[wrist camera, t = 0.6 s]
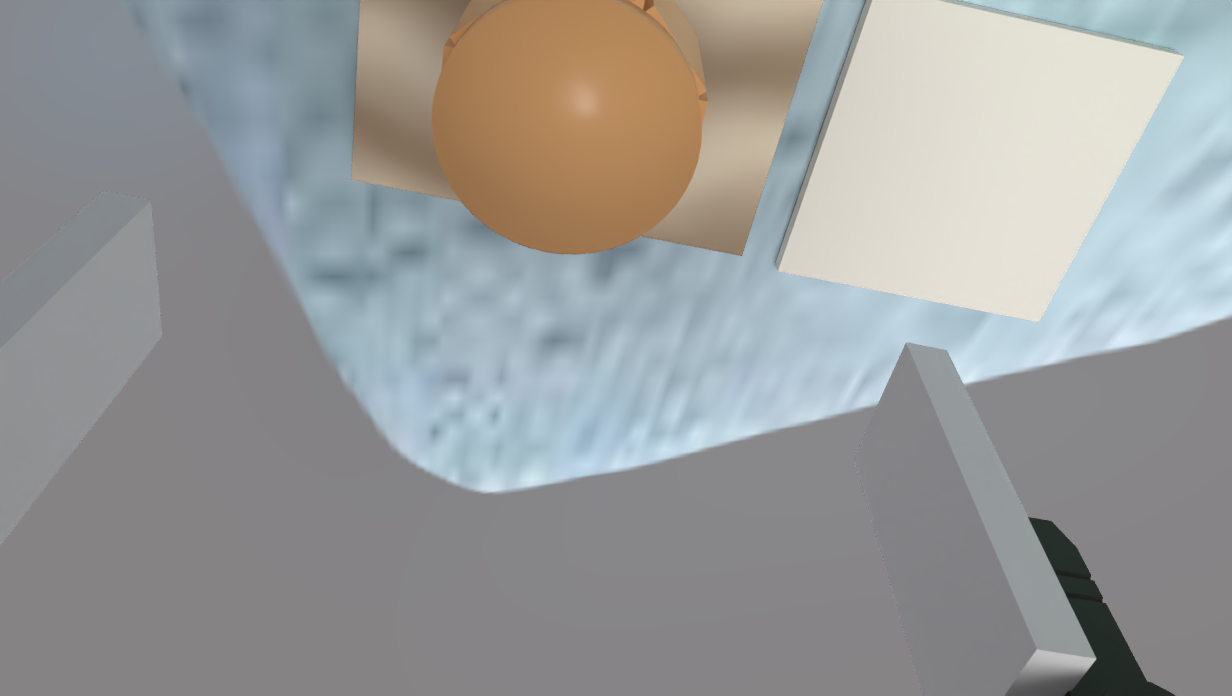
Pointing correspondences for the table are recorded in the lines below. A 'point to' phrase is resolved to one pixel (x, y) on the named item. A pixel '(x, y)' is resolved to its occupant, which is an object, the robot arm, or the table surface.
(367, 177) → the post base
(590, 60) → the cap
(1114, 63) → the pad
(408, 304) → the table surface
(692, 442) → the table surface
